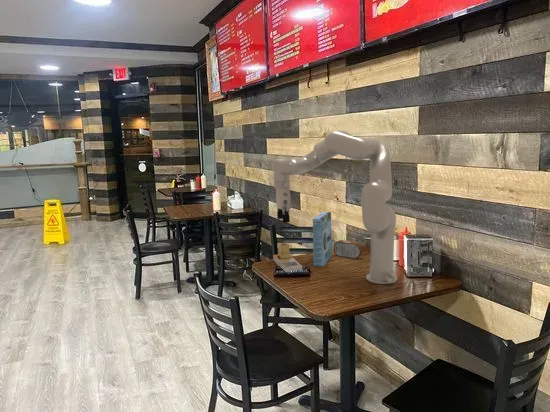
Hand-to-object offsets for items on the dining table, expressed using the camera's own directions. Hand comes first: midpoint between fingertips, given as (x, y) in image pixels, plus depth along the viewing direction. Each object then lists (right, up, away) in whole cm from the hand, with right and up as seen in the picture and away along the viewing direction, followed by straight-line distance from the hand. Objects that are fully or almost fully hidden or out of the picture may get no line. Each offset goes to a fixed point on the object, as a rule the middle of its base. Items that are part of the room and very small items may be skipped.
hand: (283, 220), depth 202 cm
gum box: (+19, -20, +5) cm, 29 cm away
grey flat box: (+2, -22, -2) cm, 22 cm away
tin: (+33, -19, +11) cm, 39 cm away
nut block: (0, -20, +3) cm, 21 cm away
